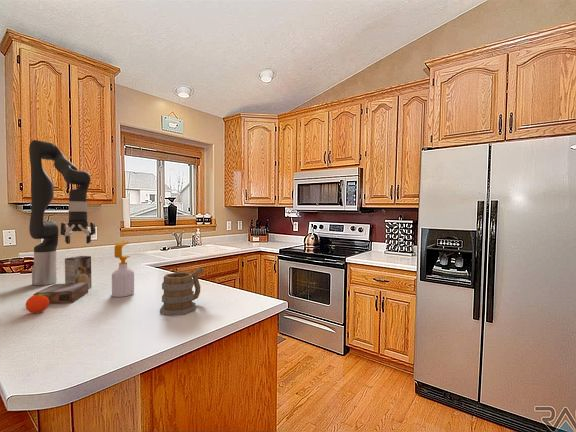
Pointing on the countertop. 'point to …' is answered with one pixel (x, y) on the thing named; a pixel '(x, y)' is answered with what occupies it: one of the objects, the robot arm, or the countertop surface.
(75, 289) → the dock
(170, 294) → the tankard
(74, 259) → the coffee box
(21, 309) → the countertop surface
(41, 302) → the clementine
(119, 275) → the soap bottle
